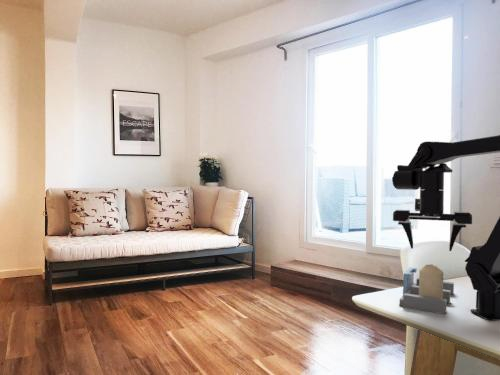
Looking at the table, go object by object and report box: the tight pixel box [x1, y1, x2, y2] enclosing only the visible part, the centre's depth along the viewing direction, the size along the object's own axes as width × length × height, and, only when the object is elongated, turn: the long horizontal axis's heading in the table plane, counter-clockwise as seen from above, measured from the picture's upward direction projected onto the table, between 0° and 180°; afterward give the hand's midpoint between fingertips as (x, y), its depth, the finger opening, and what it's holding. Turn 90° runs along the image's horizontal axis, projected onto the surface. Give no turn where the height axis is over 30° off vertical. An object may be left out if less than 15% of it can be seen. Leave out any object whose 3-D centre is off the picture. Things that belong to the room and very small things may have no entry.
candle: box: [418, 264, 444, 299], centre depth 107 cm, size 6×6×10 cm
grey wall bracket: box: [399, 266, 455, 315], centre depth 113 cm, size 22×12×6 cm, turn 150°
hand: (430, 249), depth 112 cm, fingers open, 9 cm apart
